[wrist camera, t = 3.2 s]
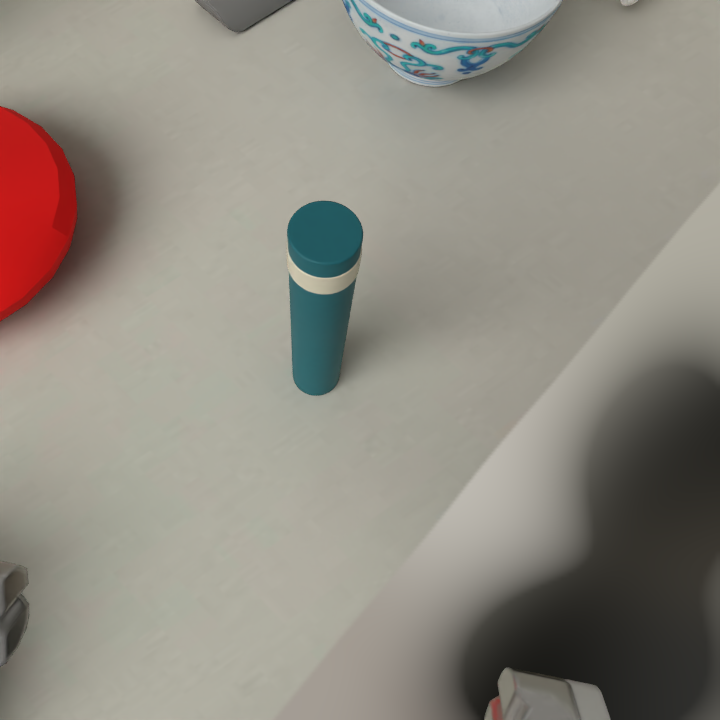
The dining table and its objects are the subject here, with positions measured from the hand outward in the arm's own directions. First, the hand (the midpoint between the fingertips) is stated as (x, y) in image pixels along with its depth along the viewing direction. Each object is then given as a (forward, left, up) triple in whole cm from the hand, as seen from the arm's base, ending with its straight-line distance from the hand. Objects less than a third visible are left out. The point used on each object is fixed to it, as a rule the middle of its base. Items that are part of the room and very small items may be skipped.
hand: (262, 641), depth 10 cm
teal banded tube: (+12, -4, -20) cm, 24 cm away
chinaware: (+35, -17, -20) cm, 43 cm away
